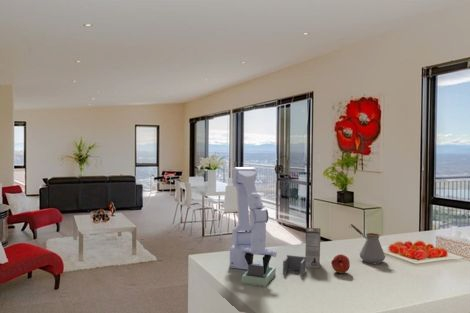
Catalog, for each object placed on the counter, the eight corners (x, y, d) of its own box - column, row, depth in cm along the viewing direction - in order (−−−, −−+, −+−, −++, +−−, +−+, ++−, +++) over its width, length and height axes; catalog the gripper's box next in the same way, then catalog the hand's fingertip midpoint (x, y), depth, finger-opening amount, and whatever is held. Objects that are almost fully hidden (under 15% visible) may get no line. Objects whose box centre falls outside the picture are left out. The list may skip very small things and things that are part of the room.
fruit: (327, 272, 175) (327, 254, 175) (336, 268, 181) (337, 250, 181) (344, 277, 170) (344, 258, 170) (353, 272, 176) (353, 254, 176)
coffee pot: (390, 263, 191) (391, 231, 190) (371, 266, 186) (372, 233, 185) (358, 252, 210) (359, 223, 210) (340, 254, 205) (341, 224, 205)
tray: (241, 283, 160) (241, 275, 160) (253, 271, 175) (253, 264, 175) (265, 286, 157) (265, 278, 157) (275, 274, 172) (275, 267, 171)
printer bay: (282, 273, 173) (283, 259, 172) (287, 268, 180) (287, 254, 180) (302, 276, 170) (302, 261, 170) (305, 270, 178) (305, 256, 177)
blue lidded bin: (247, 278, 161) (248, 263, 162) (255, 273, 172) (256, 259, 172) (262, 280, 159) (263, 265, 160) (269, 274, 169) (270, 260, 170)
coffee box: (305, 261, 192) (306, 227, 191) (319, 262, 190) (320, 228, 190) (304, 267, 183) (305, 231, 182) (319, 268, 181) (320, 232, 181)
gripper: (237, 239, 161) (237, 273, 162) (273, 242, 157) (272, 278, 157) (243, 235, 168) (242, 268, 169) (278, 238, 163) (277, 272, 164)
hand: (257, 272), depth 163 cm, fingers closed on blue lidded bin, 5 cm apart
